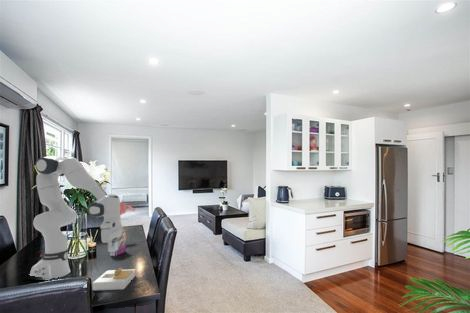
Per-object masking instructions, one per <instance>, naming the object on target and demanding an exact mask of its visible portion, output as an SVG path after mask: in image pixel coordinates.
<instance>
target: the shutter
mask: <svg viewBox="0 0 470 313" xmlns="http://www.w3.org/2000/svg"><path fill="white" fill-rule="evenodd" d="M115 270H116V271H115V276H114V277H113V279H120V278H127V277H128V276H129V275H130V274H131V273H132V272H133V270H128V269H123V268H122V266H120V267H118V268H117V269H115Z"/></svg>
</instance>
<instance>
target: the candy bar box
mask: <svg viewBox="0 0 470 313" xmlns="http://www.w3.org/2000/svg"><path fill="white" fill-rule="evenodd" d="M126 233H127V232H126V229H122V234H121V235H119V236H118V238H119V241H118V250H116V251H113V252H109V256H110V257H117V256H120V255H122V254H123V253H125V252H126V251H127V250H126V248H127V247H126V244H127V243H126V242H127V241H126V240H127V239H126V236H127V234H126Z"/></svg>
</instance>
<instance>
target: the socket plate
mask: <svg viewBox="0 0 470 313" xmlns="http://www.w3.org/2000/svg"><path fill="white" fill-rule="evenodd" d="M116 270H117V269H108V270H106V271H105V272H103V273H102V274H101V276H98V277H97V279H95V280H93V282H92V291H112V290H113V291H115V290H125V289H126V288H127V286H128V285H129V284H130V283H131V280H132V281H133V280H134V278H135V277H136V269H135V268H134V269H133V268H131V269H130V268H129V269H127V270H133V272H132V273H131V274H130V275H129V276H128V277H127V278H120V279H113V277H114V276H115V271H116Z"/></svg>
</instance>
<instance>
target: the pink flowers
mask: <svg viewBox="0 0 470 313" xmlns="http://www.w3.org/2000/svg"><path fill="white" fill-rule="evenodd" d="M127 209H129V210H131V211H132V212H135V210H134V207H132V206H131V205H127V203H124V201H123V200H121V202H120V216H122V215H123V214H126V212H127ZM122 227H125V225H123V224H122ZM127 239H128V236H127V235H126V240H127ZM132 240H133V238H132ZM132 240H131V241H132Z"/></svg>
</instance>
